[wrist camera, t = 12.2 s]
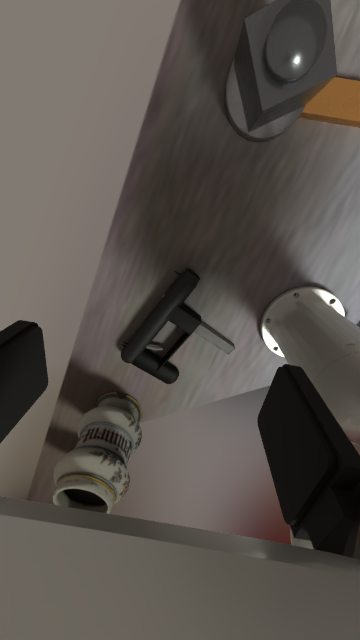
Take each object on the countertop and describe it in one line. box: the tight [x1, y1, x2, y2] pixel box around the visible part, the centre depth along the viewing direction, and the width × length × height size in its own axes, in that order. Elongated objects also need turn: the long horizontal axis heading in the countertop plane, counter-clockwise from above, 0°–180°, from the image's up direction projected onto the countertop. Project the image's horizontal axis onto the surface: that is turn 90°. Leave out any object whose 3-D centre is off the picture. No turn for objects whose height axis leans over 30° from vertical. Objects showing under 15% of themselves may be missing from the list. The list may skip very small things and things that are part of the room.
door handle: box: [121, 268, 235, 384], centre depth 40 cm, size 3×20×16 cm
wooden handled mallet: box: [225, 58, 360, 142], centre depth 25 cm, size 22×9×5 cm, turn 82°
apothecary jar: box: [53, 392, 142, 514], centre depth 42 cm, size 12×12×18 cm
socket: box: [233, 0, 337, 133], centre depth 22 cm, size 6×6×8 cm
